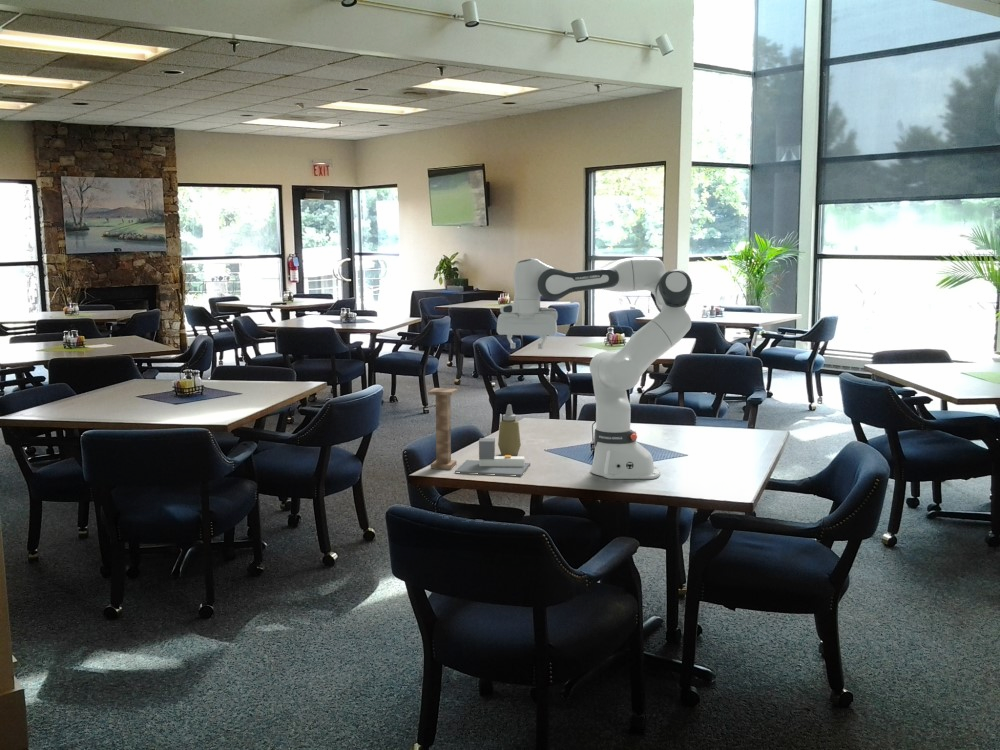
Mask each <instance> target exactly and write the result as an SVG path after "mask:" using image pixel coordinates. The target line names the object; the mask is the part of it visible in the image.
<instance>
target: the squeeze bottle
mask: <svg viewBox="0 0 1000 750" xmlns="http://www.w3.org/2000/svg"><path fill="white" fill-rule="evenodd" d="M519 423H520V422H519V421H518V420H517V415H516V414H515V413H513V407H512V404H507V405H506V411H505V414H502V420H501V421H500V422H499V429H498V431H499V432H498V439H497V440H498V441H497V445H498V449H499V451H500V456H505V455H511V456H519V455H518V454H519V452H520V448H521V445H522V444H521V443H522V442H521V436H520V424H519Z"/></svg>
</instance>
